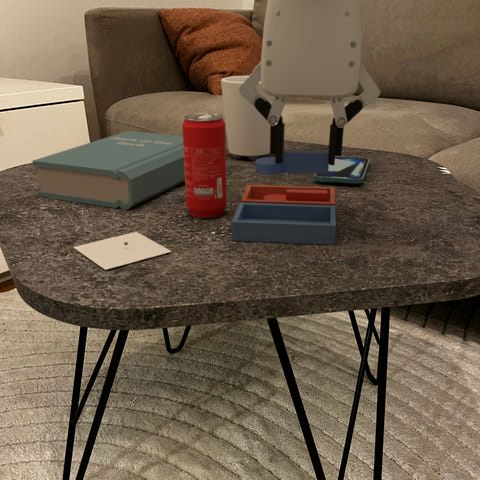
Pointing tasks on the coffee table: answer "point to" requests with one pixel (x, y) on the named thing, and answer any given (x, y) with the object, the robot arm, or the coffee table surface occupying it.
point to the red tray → (259, 191)
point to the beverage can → (205, 164)
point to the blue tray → (284, 223)
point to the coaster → (121, 250)
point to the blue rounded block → (294, 163)
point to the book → (114, 170)
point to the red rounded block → (299, 195)
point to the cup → (244, 121)
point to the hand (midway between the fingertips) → (305, 159)
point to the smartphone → (345, 170)
